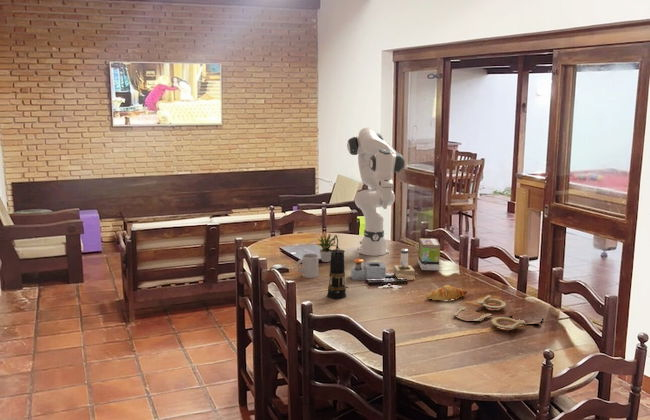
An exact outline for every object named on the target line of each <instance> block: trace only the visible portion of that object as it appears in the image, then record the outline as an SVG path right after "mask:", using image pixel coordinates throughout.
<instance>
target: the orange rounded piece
mask: <svg viewBox="0 0 650 420" xmlns="http://www.w3.org/2000/svg"><path fill="white" fill-rule="evenodd" d="M353 263H355V267H356V269H355V270H361V267H362V263H363V264H364V259H363V258H354V259H353Z"/></svg>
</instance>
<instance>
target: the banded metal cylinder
mask: <svg viewBox="0 0 650 420" xmlns="http://www.w3.org/2000/svg"><path fill="white" fill-rule="evenodd" d="M409 252H410V251H409V249H408V248H400V270H407V269H408V265H409Z"/></svg>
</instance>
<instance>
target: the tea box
mask: <svg viewBox="0 0 650 420" xmlns="http://www.w3.org/2000/svg"><path fill="white" fill-rule="evenodd" d="M418 241H419V242H418V257H417V258H418V261H417V263H418V266H419V267H420V269H421V271H439V270H440V256H441V244H440V242H439V241H438V239H437V238H419V240H418Z"/></svg>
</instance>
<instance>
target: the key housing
mask: <svg viewBox="0 0 650 420" xmlns="http://www.w3.org/2000/svg"><path fill="white" fill-rule="evenodd" d="M355 269H356V266H350V277H351V278H350V279H352V281H366V270H365V268H364V267H363V266H361V270H355Z"/></svg>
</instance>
